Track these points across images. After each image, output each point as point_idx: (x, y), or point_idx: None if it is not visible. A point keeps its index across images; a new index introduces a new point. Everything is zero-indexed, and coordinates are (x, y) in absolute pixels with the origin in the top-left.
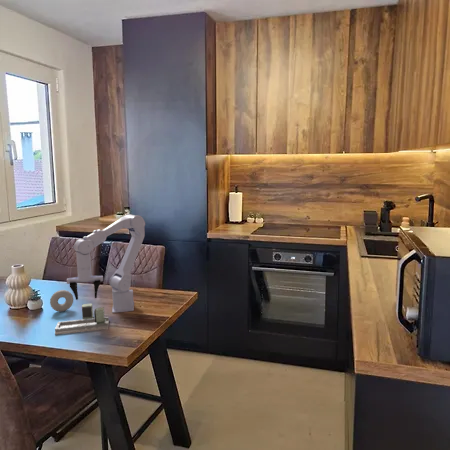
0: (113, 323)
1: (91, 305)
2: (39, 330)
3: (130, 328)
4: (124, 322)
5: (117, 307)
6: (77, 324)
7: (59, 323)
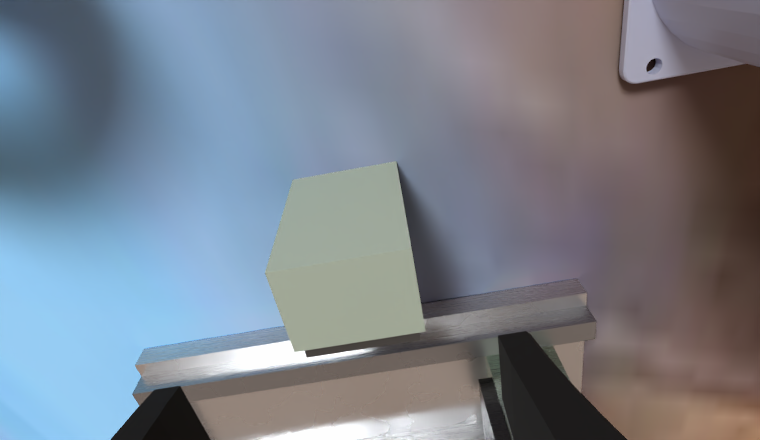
0: (615, 329)
1: (421, 322)
2: (35, 408)
3: (732, 408)
4: (710, 317)
5: (733, 59)
6: (321, 387)
7: None
